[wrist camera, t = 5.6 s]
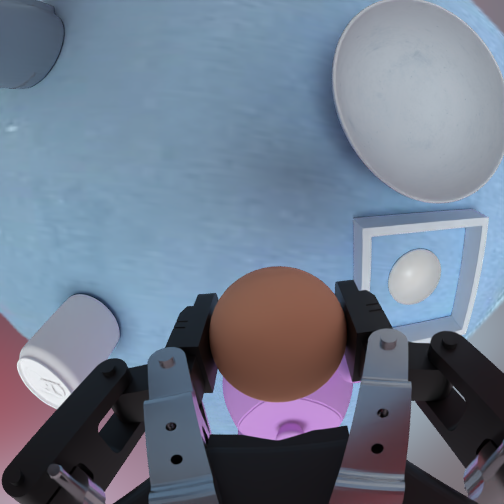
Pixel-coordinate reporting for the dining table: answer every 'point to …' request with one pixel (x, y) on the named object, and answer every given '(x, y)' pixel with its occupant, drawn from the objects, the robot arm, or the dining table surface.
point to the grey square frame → (420, 223)
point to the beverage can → (68, 348)
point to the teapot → (291, 409)
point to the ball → (278, 334)
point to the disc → (414, 276)
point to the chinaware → (420, 99)
